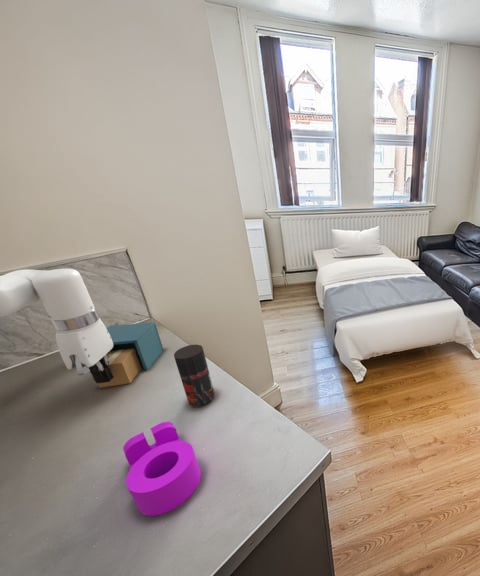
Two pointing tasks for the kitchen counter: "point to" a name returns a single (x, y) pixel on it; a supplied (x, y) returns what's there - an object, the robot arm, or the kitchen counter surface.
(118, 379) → the box
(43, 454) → the kitchen counter surface
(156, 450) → the magenta ring bracket
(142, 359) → the shelf
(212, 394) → the deodorant
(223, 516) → the kitchen counter surface
